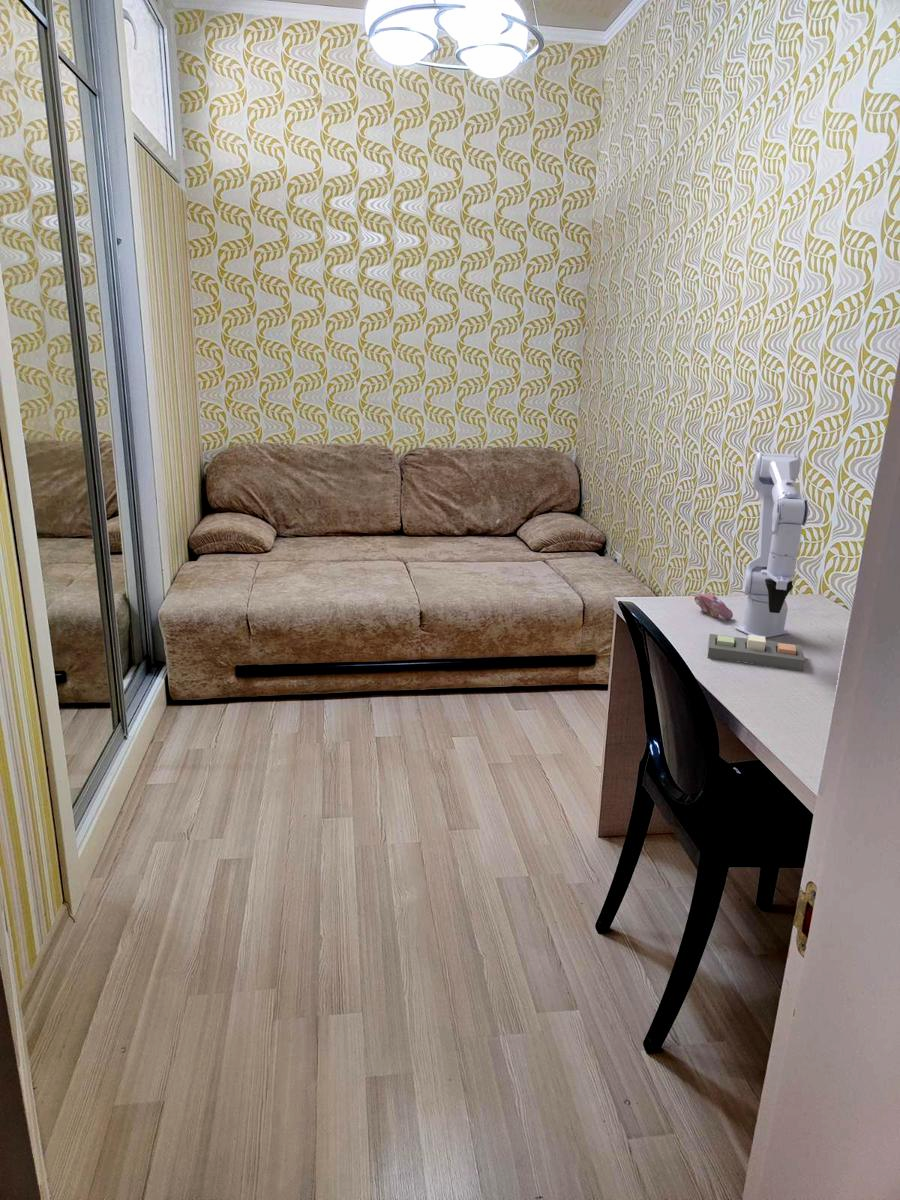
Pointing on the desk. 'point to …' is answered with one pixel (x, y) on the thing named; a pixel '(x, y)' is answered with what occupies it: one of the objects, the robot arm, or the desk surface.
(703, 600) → the pinkish-red lumpy piece
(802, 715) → the desk surface
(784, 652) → the terracotta button
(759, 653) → the button panel
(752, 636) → the cream button
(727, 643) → the sage button
